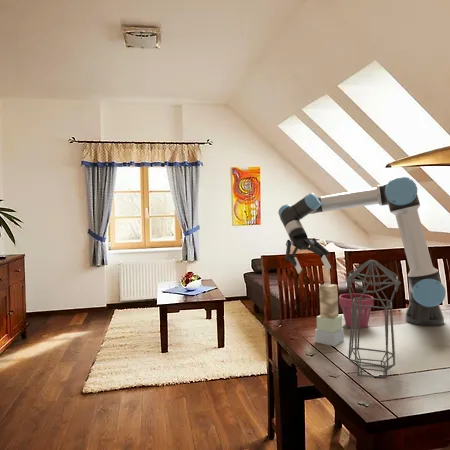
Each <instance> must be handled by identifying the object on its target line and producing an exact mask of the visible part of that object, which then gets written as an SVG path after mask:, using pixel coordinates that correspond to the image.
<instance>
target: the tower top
mask: <svg viewBox="0 0 450 450" xmlns="http://www.w3.org/2000/svg"><path fill="white" fill-rule="evenodd" d="M342 328H343V317H342V315H341V314H338V316H337V317H334V318H326V317H320V314H319V315H317V316H316V329H317V330H322V331H327V332H332V333H334V332H336V331H338V330H340V329H342Z"/></svg>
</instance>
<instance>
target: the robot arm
mask: <svg viewBox="0 0 450 450" xmlns="http://www.w3.org/2000/svg"><path fill="white" fill-rule="evenodd" d="M374 205H380V206H388V208H389V212H390V213H391V214H392V215H394V216H395V220H396V223H397V227H398V230H399V234H400V237H401V242H402V245H403V246H402V247H403V250H404V254H405V256H406V260H407V264H408V267H409V271H408V273H407V279H408V289H409V290H408V297H409V304H408V307H407V310H406V312H405V321H406V322H408V323H410V324H414V325H420V326H428V327H429V326H432V327H434V326H441V325H444V323H445V317H444V315H443V312H442V309H441V307H440V305H441V304H442V303H443V302H444V300H445V298H446V292H447V291H446V288H445V286H444V285H443V282H442V279H441V274H440V272H439V269H437V268H435V267H434V265H433V263H432V258H431V255H430V251H429V248H428V243H427V240H426V236H425V233H424V229H423V226H422V222H421V219H420V216H419V208H420V207H421V202H420V198H419V195H418V187H417V184H416V182H414V180H413V179H411V178H410V177H408V176H396V177H394V178H392V179H390V180H389V181H388V182H386V183H382V184H378V185H377V186H376V187H372V188H371V187H370V188H366V189H359V190H353V191H347V192H341V193H335V194H330V195H323V196H317V195H316V194H315V193H314V192H310V193H309V194H306V195H305V196H304V197H302V199H300V200H299V201H297V202H295V204H292V205H291V204H284V205H282V206H281V207H280V208H279V209H278V212H277V213H278V216H279V219H280V221H281V223H282V225H283V227H284V229H285V231H286V233H287V236H288V238H289V239H287V240H286V242H285V245H286V251H285V256H284V257H285V258H284V259H285V261H288V262H290V263H291V265H292V266H293V267H294V268H295V270H296V272H297V274H301V273H302V271H303V270H302V267H301V264H300V262H299V260H298V258H297V256H296V254H297V251H298V250H300V251H303V250H308V251H310V252H312V253H314V254H315V255H317V256H319V257H320V260H321V262H322V264H323V265H324V268H325V269H326V272H329V271H330V270H331V268H332V266H331V264H330V260H329V258H328V257H329V256H330V251H329V250H327V249H326V248H325V247H324V246H323V245H321V244H320V243H319V242H318V241H317V238H314V237H313V238H312V239H309V238H308V234H307V231H306V230H305V227H304V226H303V224H302V222H301V220H302V219H303V218H305V217H307V216H308V215H310V214H311V215H313V214H317V213H322V212H323V213H324V212H329V211H337V210H346V209H351V208H352V209H353V208H358V207H366V206H374ZM292 246H294V249H293V251H292V253H291V247H292Z"/></svg>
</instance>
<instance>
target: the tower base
mask: <svg viewBox="0 0 450 450" xmlns="http://www.w3.org/2000/svg"><path fill="white" fill-rule="evenodd" d="M314 338H315V339H314V340H315V341H314V342H315V343H319V344H322V345H326V346H332V347H336V346H338V345H339V344H341V343H342V342H344V341H343V340H345V336H344V327H342V329H340V330H338V331H336V332H334V333H332V332H327V331H322V330H317V328H316V329H314ZM340 342H341V343H340ZM338 343H339V344H338ZM337 344H338V345H337ZM335 345H336V346H335Z"/></svg>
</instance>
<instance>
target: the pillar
mask: <svg viewBox="0 0 450 450" xmlns="http://www.w3.org/2000/svg"><path fill="white" fill-rule="evenodd" d="M318 289H319V290H318V291H319V294H318V295H319V313H320V314H319V315H320V317H326V318H334V317H337V316H338V315H339V296H338V295H339V294H338V284H334V283H333V284H331V283H324V284H320V285H318Z"/></svg>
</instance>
